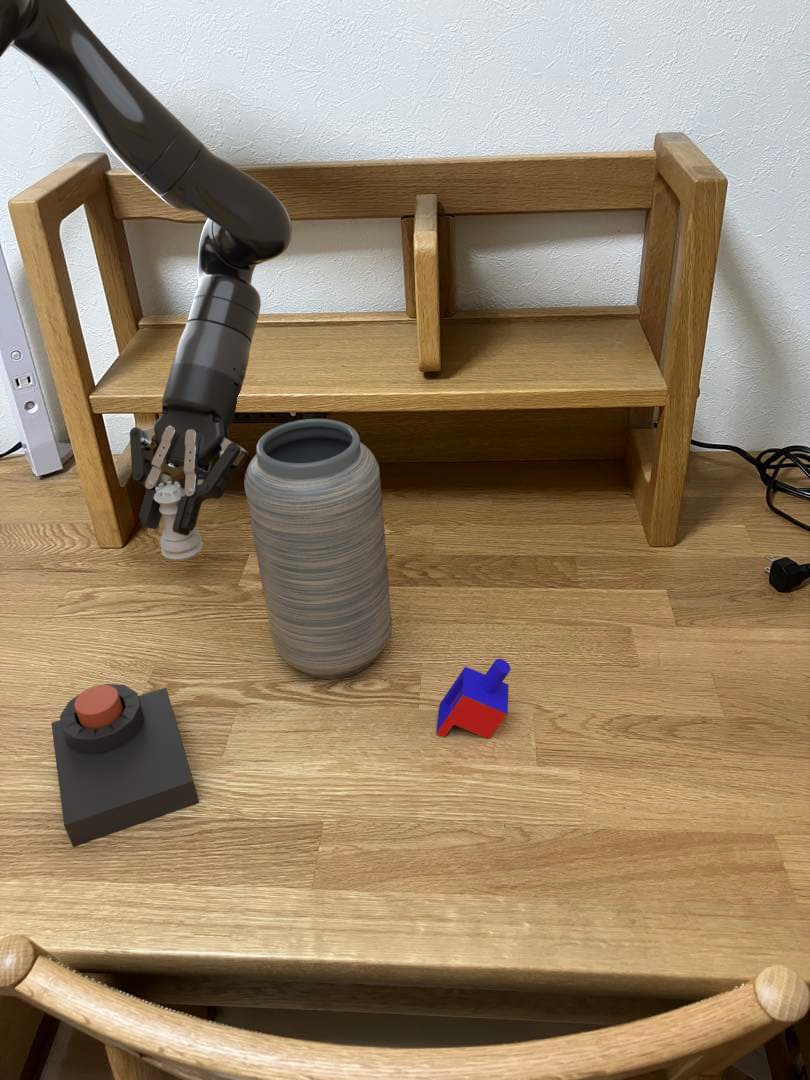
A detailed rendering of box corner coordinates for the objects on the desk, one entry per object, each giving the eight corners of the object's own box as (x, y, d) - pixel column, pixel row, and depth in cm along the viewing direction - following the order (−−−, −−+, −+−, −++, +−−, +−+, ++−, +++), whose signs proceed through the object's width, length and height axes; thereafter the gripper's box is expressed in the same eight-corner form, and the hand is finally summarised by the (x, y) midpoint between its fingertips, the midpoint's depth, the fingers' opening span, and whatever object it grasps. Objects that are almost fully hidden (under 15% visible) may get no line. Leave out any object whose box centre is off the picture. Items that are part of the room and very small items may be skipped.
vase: (332, 598, 95) (307, 399, 82) (418, 641, 88) (405, 431, 75) (250, 657, 87) (209, 449, 75) (336, 708, 81) (307, 490, 68)
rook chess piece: (211, 551, 96) (197, 486, 91) (174, 568, 94) (158, 503, 89) (191, 534, 99) (176, 471, 94) (154, 550, 97) (138, 487, 92)
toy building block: (479, 751, 78) (523, 692, 73) (435, 733, 77) (477, 673, 73) (481, 721, 81) (523, 663, 76) (439, 704, 80) (479, 644, 76)
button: (77, 707, 77) (72, 692, 76) (119, 694, 78) (114, 679, 77) (81, 734, 74) (76, 719, 73) (125, 721, 75) (120, 706, 74)
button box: (58, 738, 80) (44, 701, 77) (170, 703, 83) (160, 667, 80) (73, 847, 70) (57, 809, 67) (199, 803, 73) (188, 765, 70)
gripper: (132, 353, 94) (86, 511, 91) (249, 367, 89) (204, 534, 87) (171, 379, 101) (129, 527, 98) (281, 394, 96) (240, 549, 94)
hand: (164, 529), depth 93 cm, fingers closed on rook chess piece, 3 cm apart
